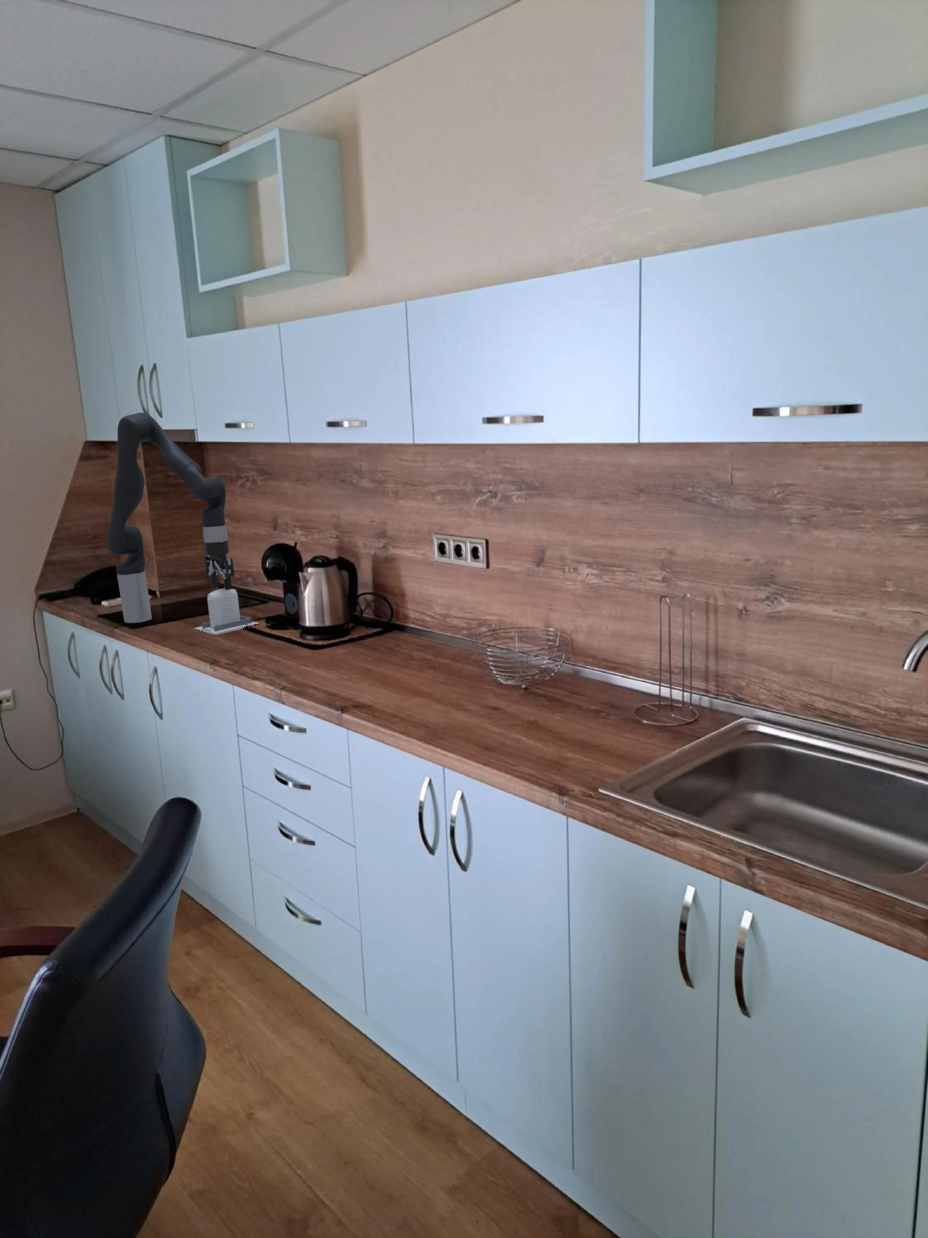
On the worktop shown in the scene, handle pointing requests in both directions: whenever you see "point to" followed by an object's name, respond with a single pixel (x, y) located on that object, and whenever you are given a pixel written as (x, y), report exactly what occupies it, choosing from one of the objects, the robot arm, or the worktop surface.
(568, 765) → the worktop surface
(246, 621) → the dock
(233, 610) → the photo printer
